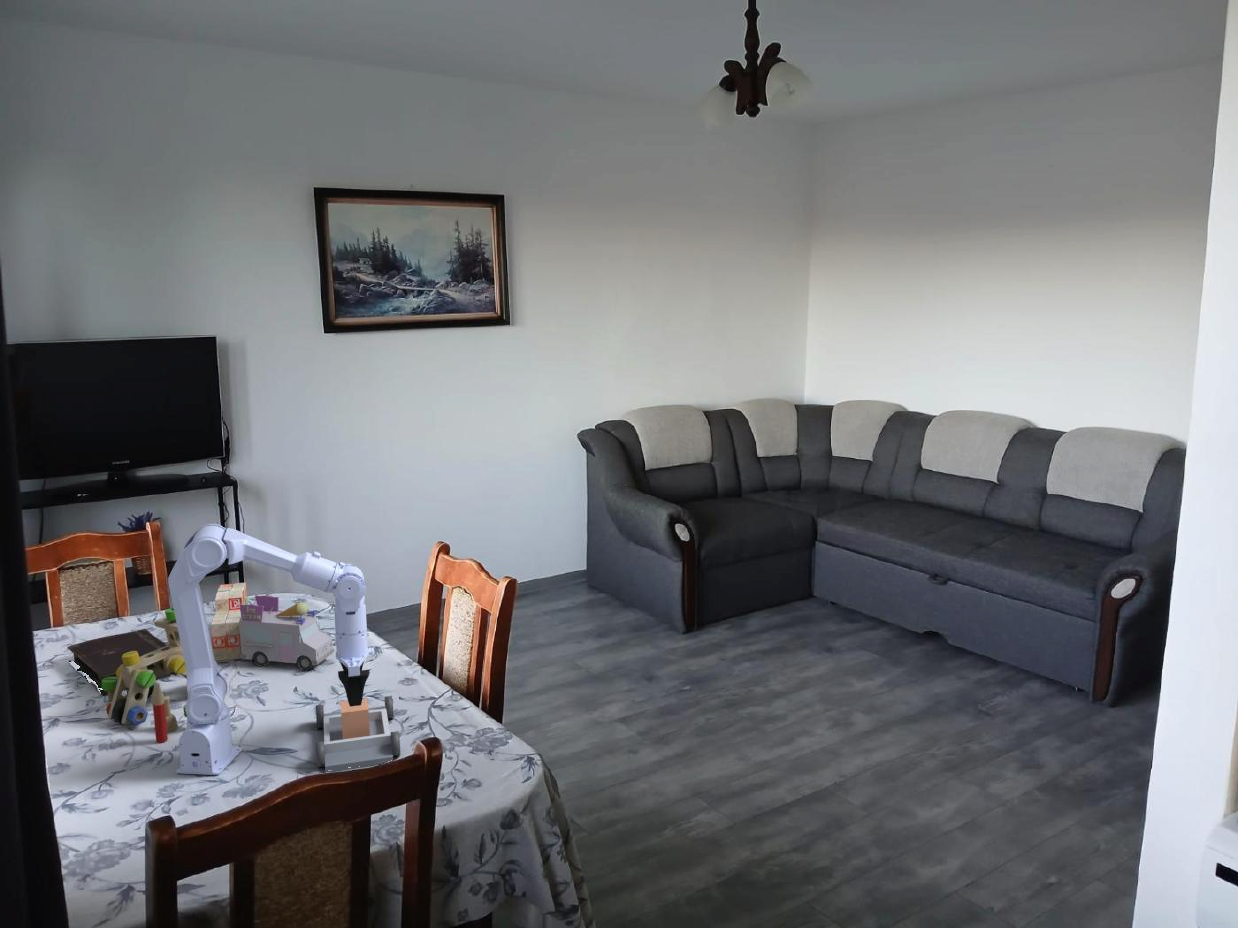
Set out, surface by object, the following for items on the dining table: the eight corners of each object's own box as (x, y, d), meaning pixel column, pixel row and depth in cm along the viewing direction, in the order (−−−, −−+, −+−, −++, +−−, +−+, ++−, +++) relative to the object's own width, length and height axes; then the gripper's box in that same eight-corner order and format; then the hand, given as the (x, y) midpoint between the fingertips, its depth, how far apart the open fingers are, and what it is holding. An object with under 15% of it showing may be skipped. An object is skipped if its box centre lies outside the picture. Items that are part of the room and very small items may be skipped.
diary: (150, 645, 230) (148, 626, 230) (189, 675, 213) (187, 654, 212) (64, 666, 217) (62, 645, 217) (99, 699, 200) (97, 677, 199)
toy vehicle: (316, 674, 212) (312, 611, 209) (238, 667, 216) (233, 605, 213) (336, 658, 221) (332, 597, 218) (261, 651, 225) (256, 592, 222)
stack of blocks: (242, 659, 221) (238, 609, 218) (213, 662, 219) (209, 612, 217) (249, 627, 241) (246, 581, 239) (223, 629, 239) (219, 583, 237)
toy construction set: (233, 729, 187) (225, 631, 183) (105, 756, 176) (93, 652, 172) (218, 679, 210) (210, 591, 206) (103, 700, 199) (93, 608, 195)
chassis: (401, 761, 174) (400, 739, 173) (317, 773, 170) (315, 751, 169) (391, 710, 194) (391, 690, 194) (317, 720, 190) (315, 699, 189)
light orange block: (369, 738, 180) (368, 709, 179) (342, 742, 179) (341, 712, 177) (368, 726, 185) (367, 698, 184) (342, 730, 183) (340, 701, 182)
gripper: (375, 641, 172) (378, 710, 175) (370, 614, 186) (373, 678, 188) (335, 645, 170) (338, 715, 173) (333, 618, 183) (337, 683, 186)
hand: (354, 696), depth 180 cm, fingers open, 7 cm apart
